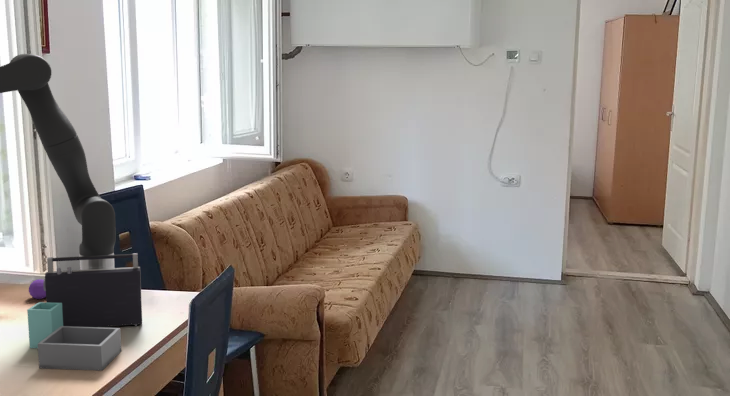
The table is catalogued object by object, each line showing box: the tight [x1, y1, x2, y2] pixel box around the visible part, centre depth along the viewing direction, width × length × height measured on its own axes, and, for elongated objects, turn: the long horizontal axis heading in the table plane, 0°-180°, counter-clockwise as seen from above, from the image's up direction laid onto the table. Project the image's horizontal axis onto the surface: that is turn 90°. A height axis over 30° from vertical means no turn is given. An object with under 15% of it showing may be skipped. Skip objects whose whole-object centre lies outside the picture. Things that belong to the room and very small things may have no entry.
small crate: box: [26, 301, 63, 349], centre depth 186 cm, size 6×6×10 cm
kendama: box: [28, 278, 46, 300], centre depth 225 cm, size 6×6×20 cm
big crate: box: [37, 326, 122, 371], centre depth 177 cm, size 15×12×6 cm
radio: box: [43, 252, 143, 328], centre depth 198 cm, size 24×5×20 cm, turn 106°
